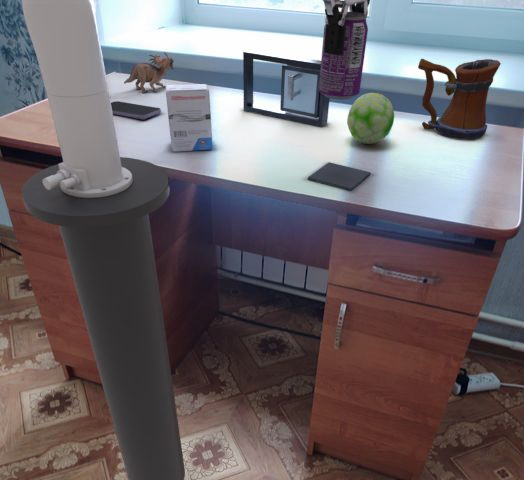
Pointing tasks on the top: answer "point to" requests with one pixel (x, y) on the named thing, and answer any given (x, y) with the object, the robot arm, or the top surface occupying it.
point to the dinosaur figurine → (151, 72)
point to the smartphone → (134, 110)
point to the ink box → (189, 117)
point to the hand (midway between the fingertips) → (343, 48)
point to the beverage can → (345, 61)
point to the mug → (461, 98)
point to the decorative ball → (370, 118)
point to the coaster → (339, 176)
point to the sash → (300, 91)
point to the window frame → (276, 112)
